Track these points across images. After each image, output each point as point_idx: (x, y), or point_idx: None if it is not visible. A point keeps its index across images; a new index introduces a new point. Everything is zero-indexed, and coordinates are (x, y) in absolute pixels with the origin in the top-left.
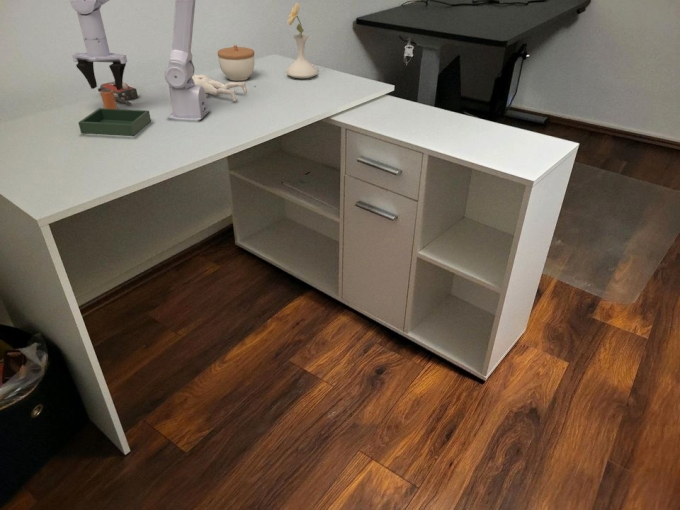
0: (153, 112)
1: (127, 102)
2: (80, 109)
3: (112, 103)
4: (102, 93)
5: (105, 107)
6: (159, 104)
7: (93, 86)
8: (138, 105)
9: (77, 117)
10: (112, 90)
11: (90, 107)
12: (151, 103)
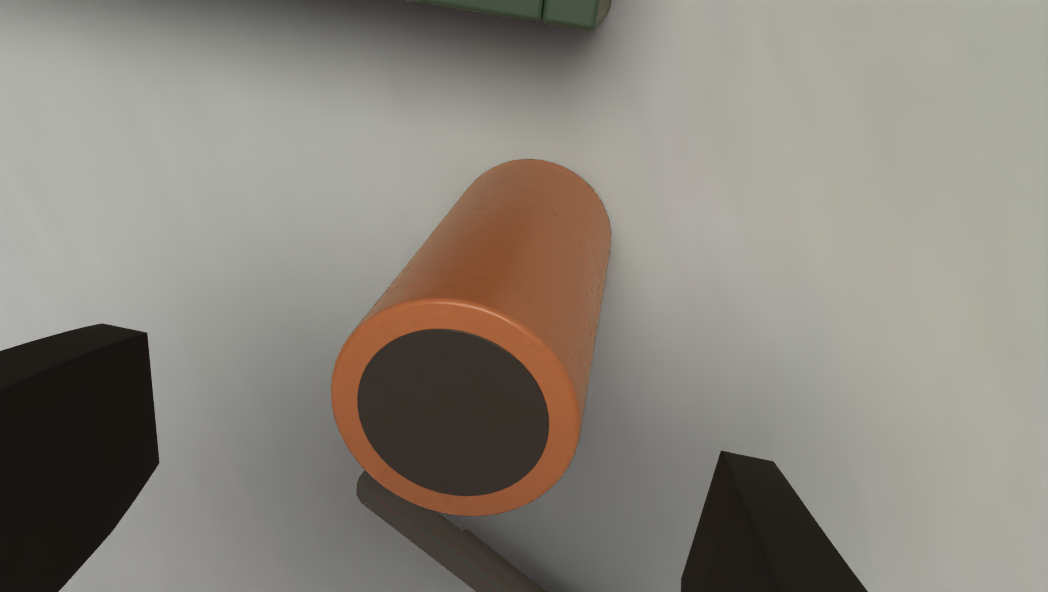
0: (87, 299)
1: (397, 501)
2: (1018, 467)
3: (423, 244)
4: (508, 308)
5: (557, 210)
6: (148, 526)
7: (720, 503)
8: (344, 523)
9: (1024, 156)
10: (351, 441)
11: (891, 521)
12: (238, 561)
